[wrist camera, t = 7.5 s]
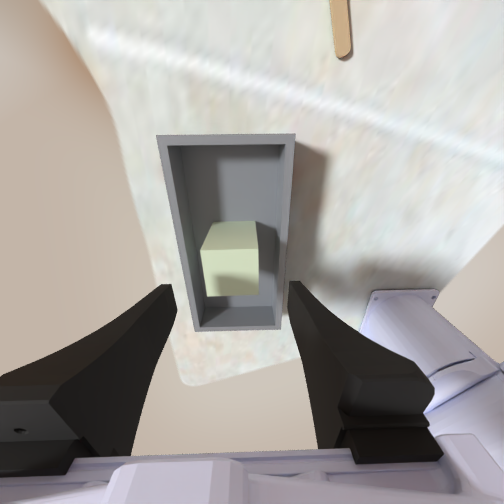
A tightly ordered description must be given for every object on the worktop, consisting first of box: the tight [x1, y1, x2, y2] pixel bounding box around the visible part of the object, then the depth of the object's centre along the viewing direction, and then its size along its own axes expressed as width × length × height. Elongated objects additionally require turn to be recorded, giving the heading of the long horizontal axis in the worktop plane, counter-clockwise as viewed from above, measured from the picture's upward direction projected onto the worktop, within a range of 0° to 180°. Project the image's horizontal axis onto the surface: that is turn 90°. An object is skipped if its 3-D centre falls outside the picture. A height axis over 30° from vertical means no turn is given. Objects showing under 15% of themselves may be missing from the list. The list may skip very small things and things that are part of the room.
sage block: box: [200, 221, 259, 296], centre depth 17 cm, size 4×4×6 cm
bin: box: [156, 134, 296, 332], centre depth 19 cm, size 18×9×4 cm, turn 1°
